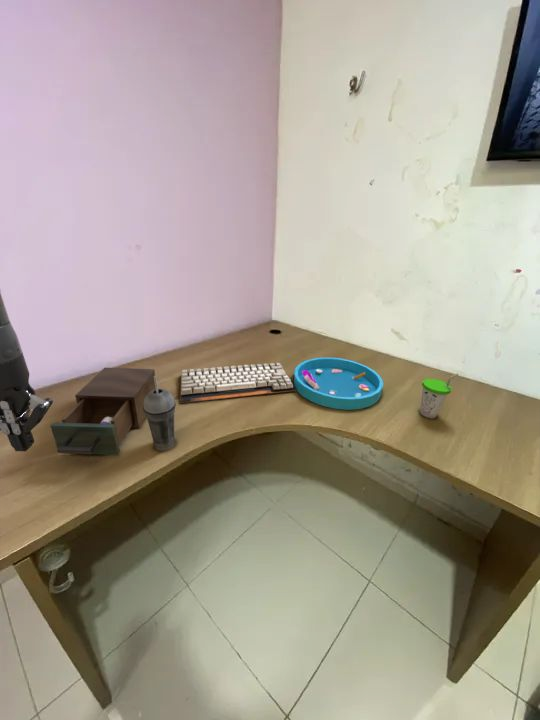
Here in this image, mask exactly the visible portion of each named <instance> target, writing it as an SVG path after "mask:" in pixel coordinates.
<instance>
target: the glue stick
mask: <svg viewBox="0 0 540 720" xmlns="http://www.w3.org/2000/svg"><path fill="white" fill-rule="evenodd" d="M112 419H113V418H111V417H105V418H104V419H103V420H102V421H101V423H100V424H111V420H112Z"/></svg>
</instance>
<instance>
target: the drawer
mask: <svg viewBox="0 0 540 720" xmlns="http://www.w3.org/2000/svg"><path fill="white" fill-rule="evenodd" d="M105 417H111V418H113V419H112V420H111V424H100V423H101V421H102V420H103V419H104V418H105ZM134 422H135V420H134V414H133V409H132V403H131V400H119V399H88V398H83V399H82V400H81V401H80V402H79V403H78V404H77V403H76V404H75V405H74V407H72V408H71V409H70V411H68V412H67V413H66V415H64V416H63V418H61V422H52V423H51V424H50V429H51V433H52V436H53V439H54V441H55V446H56V448H57V449H56V452H57V453H58V454H70V455H71V454H73V455H75V454H76V455H78V454H79V455H107V456H108V455H110V456H111V455H113V456H119V454H120V452H121V449H120V446H121V444H122V442H123V441H124V439H125V438H126V436H127V435H128V433H129V431H131V429H132V428H131V427H132V425H133V424H134Z"/></svg>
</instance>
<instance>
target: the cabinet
mask: <svg viewBox="0 0 540 720" xmlns="http://www.w3.org/2000/svg"><path fill="white" fill-rule="evenodd" d="M153 376H156V371H155V369H154V368H129V367H128V368H127V367H104V368H102V369H101V370H100V371H99V372H98V373H97V374H96V375H95V376H93V378H92V379H91V380H90V381H89V382H87V383H86V384H85V386H84V387H82V388H81V389H80V390H79V391H78V392H77V393H76V394H75V395H74V397H75V400H76V405H77V404H78V403H79V402H80V401H81V400H82V399H83V398H88V399H119V400H131V403H132V409H133V414H134V420H135V422H134V424H133V425H132V427H131V428H130V429H140V428H141V426H142V425H143V423H144V421H145V419H147V417H146V415H145V412H144V410H143V406H144V400H145V398H146V396H147V395H148V393H150V392H151V391H153V390H155V383H154V377H153Z"/></svg>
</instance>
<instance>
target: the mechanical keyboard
mask: <svg viewBox="0 0 540 720" xmlns="http://www.w3.org/2000/svg"><path fill="white" fill-rule="evenodd" d="M288 392H296V388H295V387H294V384H293V380H292V378H290V377H289V376H288V374H287V372H286V371H285V370H284V368H283V365H282V364H281V363H280V362H275V363H274V362H271V363H269V364H268V363H256V364H250V365H249V364H244V365H242V364H241V365H237V366H236V365H230V367H229V366H223V367H222V366H217V367H214V366H213V367H210V368H208V367H204V368H203V369H202V368H196V369H195V368H189V369H181V374H180V376H179V404H180V405H181V404H187V403H199V402H207V401H216V400H225V399H233V398H244V397H251V396H259V395H267V394H280V393H288Z"/></svg>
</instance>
